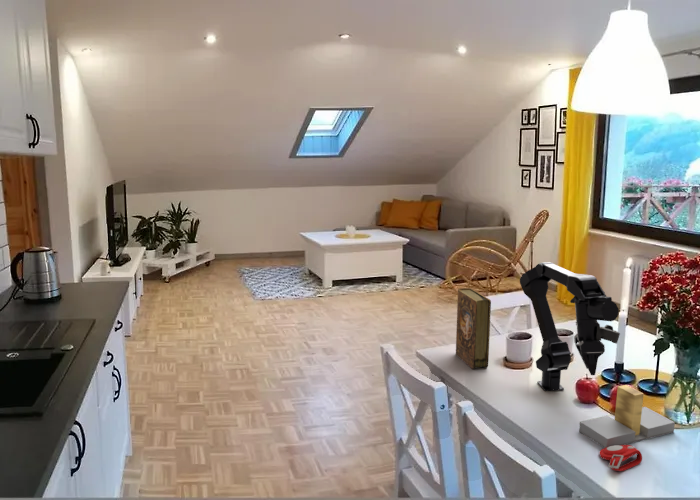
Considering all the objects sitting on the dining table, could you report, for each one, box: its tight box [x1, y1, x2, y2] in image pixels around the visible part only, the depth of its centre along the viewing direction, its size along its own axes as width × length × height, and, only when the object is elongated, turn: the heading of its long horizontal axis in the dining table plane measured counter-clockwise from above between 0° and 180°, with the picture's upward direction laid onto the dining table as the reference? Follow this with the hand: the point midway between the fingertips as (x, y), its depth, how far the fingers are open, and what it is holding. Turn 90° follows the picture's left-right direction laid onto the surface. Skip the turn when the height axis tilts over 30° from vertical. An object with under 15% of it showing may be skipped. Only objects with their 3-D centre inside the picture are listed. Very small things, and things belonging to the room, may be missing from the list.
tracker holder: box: [599, 444, 643, 472], centre depth 148 cm, size 12×4×10 cm
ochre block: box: [614, 384, 644, 435], centre depth 162 cm, size 6×3×12 cm, turn 21°
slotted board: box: [578, 406, 676, 448], centre depth 163 cm, size 10×24×3 cm, turn 111°
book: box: [455, 287, 492, 370], centre depth 211 cm, size 16×6×25 cm, turn 14°
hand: (590, 371), depth 173 cm, fingers open, 9 cm apart
